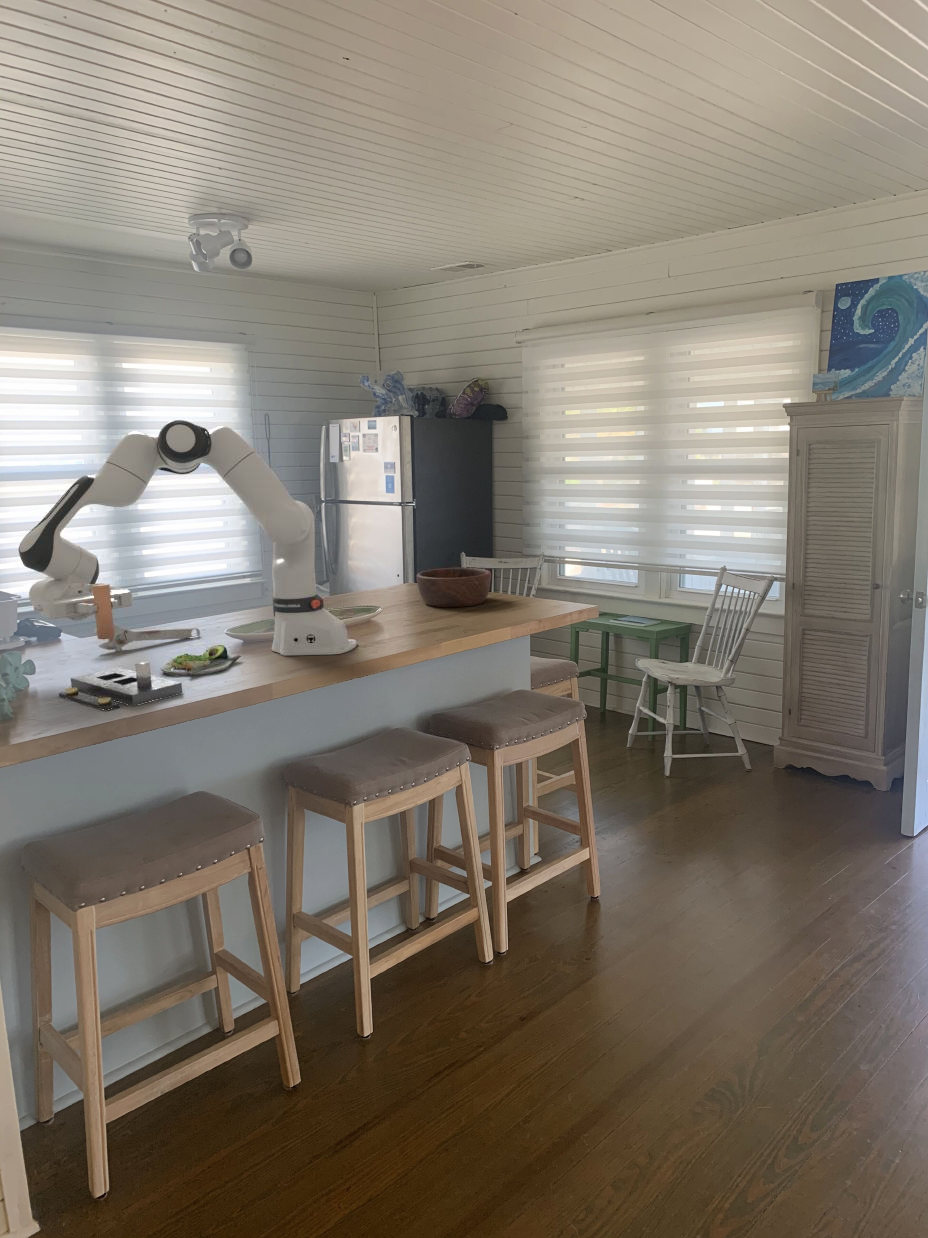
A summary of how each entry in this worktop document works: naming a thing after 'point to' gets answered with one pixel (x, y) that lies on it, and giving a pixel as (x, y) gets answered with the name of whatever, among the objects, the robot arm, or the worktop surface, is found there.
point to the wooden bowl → (454, 586)
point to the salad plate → (201, 662)
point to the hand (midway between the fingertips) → (105, 606)
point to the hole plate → (121, 687)
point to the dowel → (103, 611)
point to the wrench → (143, 636)
